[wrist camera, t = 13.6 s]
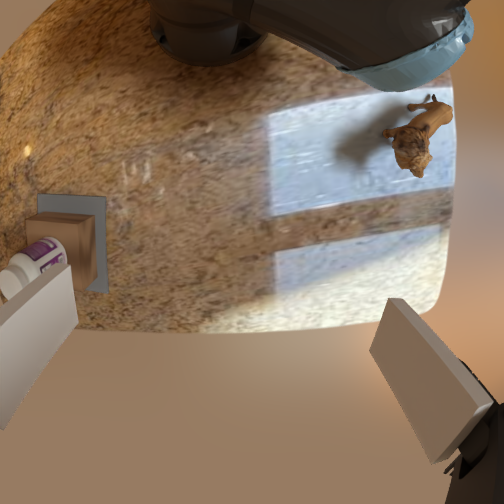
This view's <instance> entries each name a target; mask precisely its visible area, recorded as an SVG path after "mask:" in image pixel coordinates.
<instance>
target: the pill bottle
mask: <svg viewBox="0 0 504 504" xmlns="http://www.w3.org/2000/svg"><path fill="white" fill-rule="evenodd" d="M55 263H61V264H67V255H66V252H65V249H64V247H63V245H62V244H61V243H60V242H59V241H58V240H57V239H55V238H53V237H44V238H42V239H40V240H38V241H36V242H35V243H33V244H31V245H30V246H28V247H26V248H25V249H23V250H21V251H20V252H18V253H17V254H15V255H14V256H13V257H12V258H11V259H10V261H9V263H8V266H7V267H6V268H5V269H4V270H2V271H1V272H0V288H1V291H2V293H3V294H4V296H5V297H6V298H7V299H8V300H9V299H11V298H12V297H13V296H14V295H15V294H17V293H18V292H19V291H20V290H22V289H23V288H24V287H25V286H27V285H28V284H29V283H30V282H32V281H33V280H34V279H35V278H37V277H38V276H39V275H41V274H42V273H43V272H44V271H46V270H47V269H48V268H50V267H51V266H52V265H54V264H55Z"/></svg>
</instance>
